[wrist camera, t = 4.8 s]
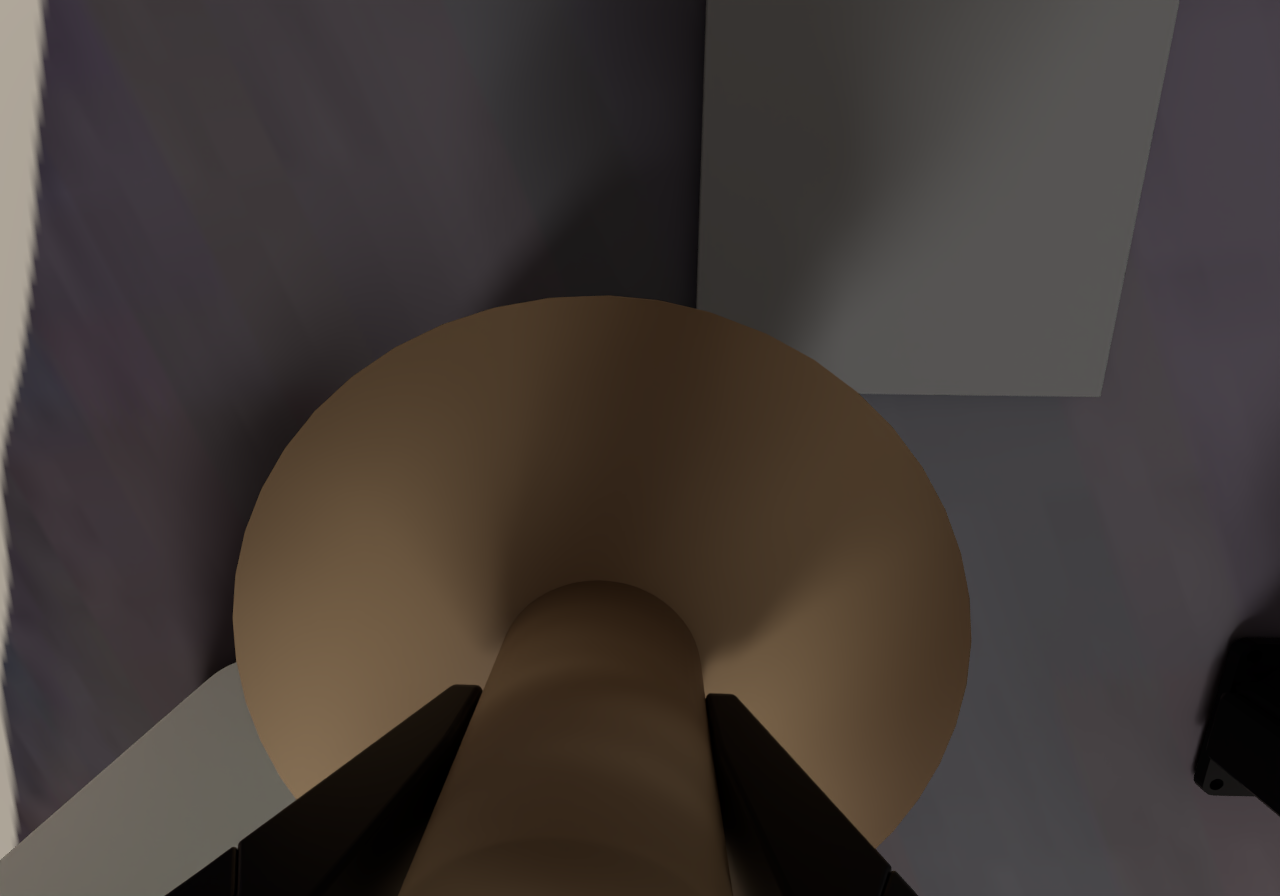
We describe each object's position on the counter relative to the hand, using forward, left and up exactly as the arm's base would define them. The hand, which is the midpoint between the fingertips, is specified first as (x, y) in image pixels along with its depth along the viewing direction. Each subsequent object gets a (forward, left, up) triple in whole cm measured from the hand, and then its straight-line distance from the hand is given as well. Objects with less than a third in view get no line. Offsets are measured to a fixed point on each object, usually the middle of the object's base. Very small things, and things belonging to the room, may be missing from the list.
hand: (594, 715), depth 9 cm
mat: (-9, -9, -13) cm, 18 cm away
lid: (0, 0, -2) cm, 2 cm away
